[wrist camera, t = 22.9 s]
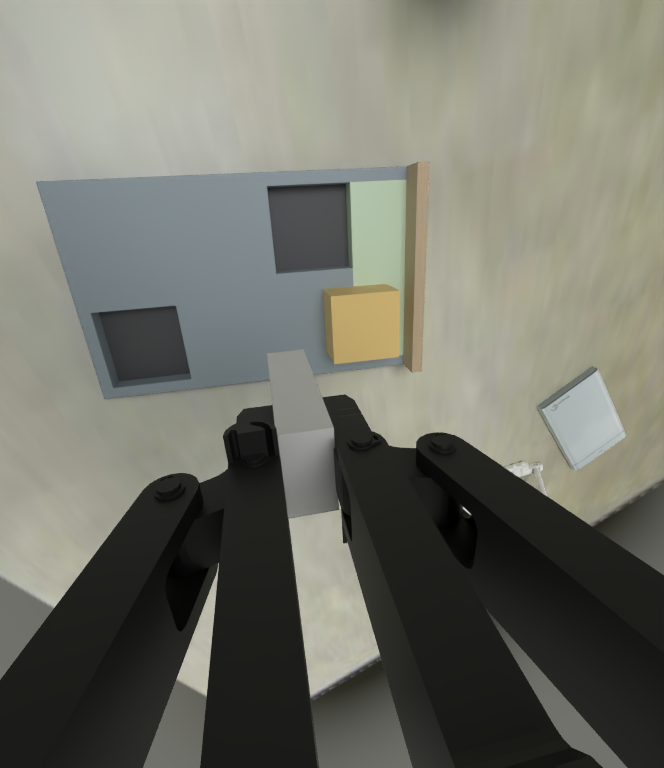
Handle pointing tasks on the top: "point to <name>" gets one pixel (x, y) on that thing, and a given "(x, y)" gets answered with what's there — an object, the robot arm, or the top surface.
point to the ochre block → (362, 322)
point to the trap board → (233, 268)
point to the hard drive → (582, 419)
